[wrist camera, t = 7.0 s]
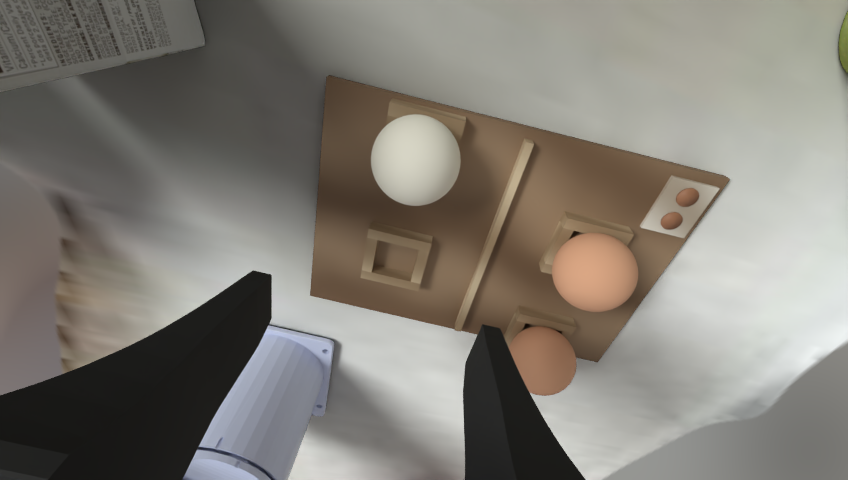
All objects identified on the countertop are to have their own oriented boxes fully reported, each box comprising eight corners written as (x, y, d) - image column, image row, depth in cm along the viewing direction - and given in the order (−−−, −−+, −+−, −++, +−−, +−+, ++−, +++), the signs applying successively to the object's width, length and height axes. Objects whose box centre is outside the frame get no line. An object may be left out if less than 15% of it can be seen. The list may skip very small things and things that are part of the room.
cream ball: (449, 191, 20) (445, 231, 17) (374, 173, 20) (356, 209, 17) (471, 115, 18) (471, 144, 15) (387, 94, 18) (368, 119, 15)
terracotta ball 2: (600, 282, 23) (623, 336, 19) (534, 267, 22) (546, 319, 19) (637, 227, 20) (670, 277, 17) (564, 209, 20) (584, 257, 17)
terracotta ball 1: (553, 361, 26) (565, 416, 23) (496, 348, 26) (500, 401, 23) (579, 321, 24) (596, 374, 21) (517, 306, 24) (525, 357, 21)
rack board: (593, 360, 27) (598, 374, 26) (311, 294, 26) (305, 306, 25) (725, 175, 19) (739, 186, 18) (329, 75, 18) (320, 80, 17)
